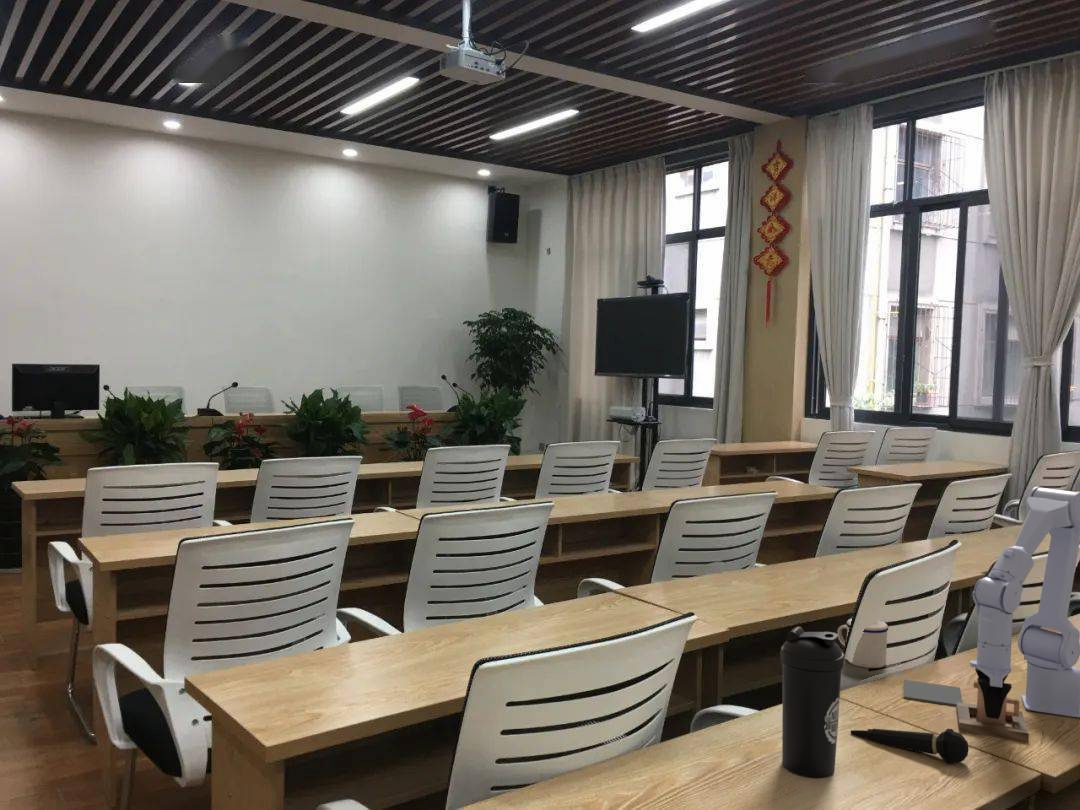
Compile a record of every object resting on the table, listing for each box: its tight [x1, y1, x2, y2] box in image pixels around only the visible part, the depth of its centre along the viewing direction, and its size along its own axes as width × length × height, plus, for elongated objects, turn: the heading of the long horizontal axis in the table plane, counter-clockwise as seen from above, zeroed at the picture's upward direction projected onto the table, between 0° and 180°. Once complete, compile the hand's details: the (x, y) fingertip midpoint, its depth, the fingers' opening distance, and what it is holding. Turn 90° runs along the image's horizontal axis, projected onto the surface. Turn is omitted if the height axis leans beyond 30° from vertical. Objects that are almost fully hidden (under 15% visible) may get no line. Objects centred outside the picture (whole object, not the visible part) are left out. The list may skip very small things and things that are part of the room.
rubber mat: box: [903, 679, 963, 707], centre depth 187 cm, size 11×11×1 cm
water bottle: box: [779, 626, 845, 779], centre depth 151 cm, size 10×10×23 cm
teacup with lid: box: [837, 617, 889, 669], centre depth 207 cm, size 12×9×12 cm
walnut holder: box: [955, 702, 1030, 742], centre depth 171 cm, size 12×12×2 cm
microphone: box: [850, 728, 969, 765], centre depth 159 cm, size 6×6×20 cm
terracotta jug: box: [973, 680, 1020, 726], centre depth 170 cm, size 8×5×8 cm, turn 67°
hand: (991, 712), depth 171 cm, fingers closed on terracotta jug, 5 cm apart
